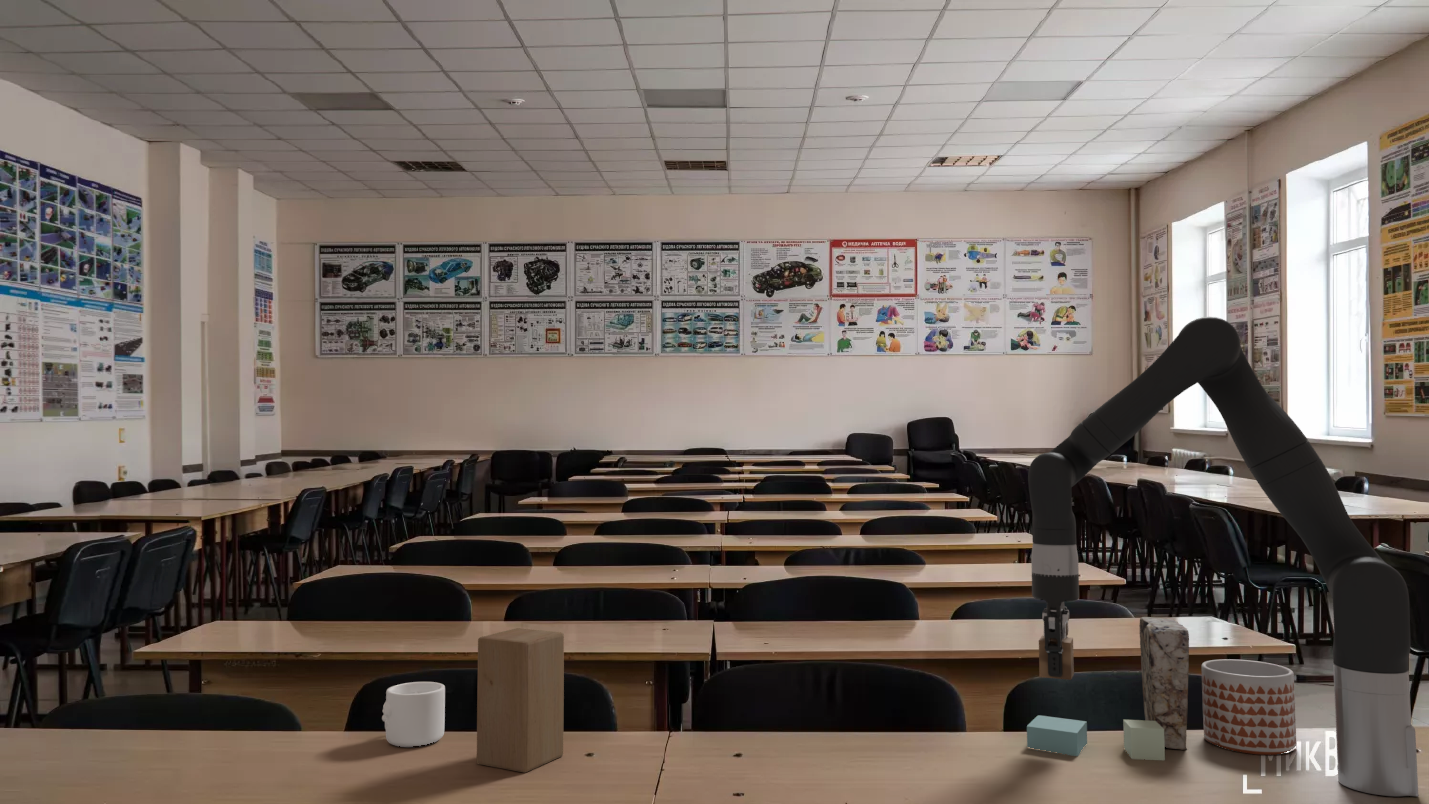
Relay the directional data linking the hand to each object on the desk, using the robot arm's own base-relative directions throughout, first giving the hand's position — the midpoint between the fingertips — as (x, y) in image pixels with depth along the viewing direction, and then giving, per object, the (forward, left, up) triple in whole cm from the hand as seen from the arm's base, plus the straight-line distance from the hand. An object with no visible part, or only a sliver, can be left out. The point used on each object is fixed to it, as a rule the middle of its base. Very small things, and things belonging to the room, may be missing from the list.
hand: (1057, 672), depth 162 cm
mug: (+102, +41, -12) cm, 111 cm away
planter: (-29, -15, -12) cm, 35 cm away
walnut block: (0, 0, 0) cm, 0 cm away
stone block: (-16, -12, -12) cm, 24 cm away
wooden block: (+78, +43, -12) cm, 90 cm away
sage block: (-13, -1, -12) cm, 18 cm away
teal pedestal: (0, 0, -13) cm, 13 cm away
